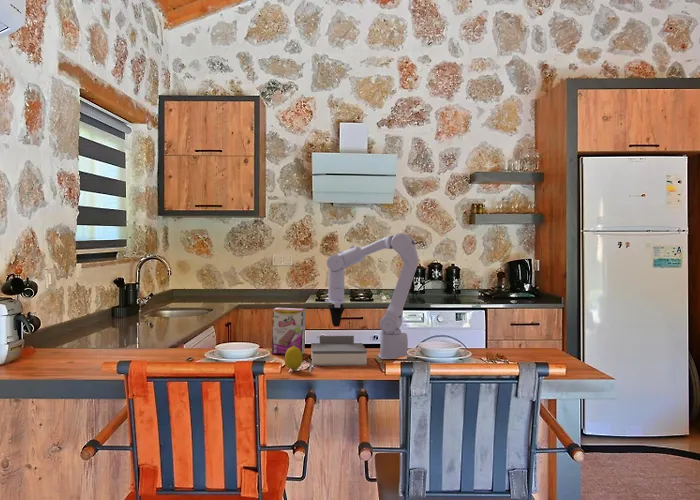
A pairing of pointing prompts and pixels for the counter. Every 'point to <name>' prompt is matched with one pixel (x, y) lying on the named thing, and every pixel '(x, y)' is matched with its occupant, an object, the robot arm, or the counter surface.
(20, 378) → the counter surface
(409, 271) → the robot arm
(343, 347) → the lid
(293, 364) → the lemon
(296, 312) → the candy bar box
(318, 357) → the mailer box
